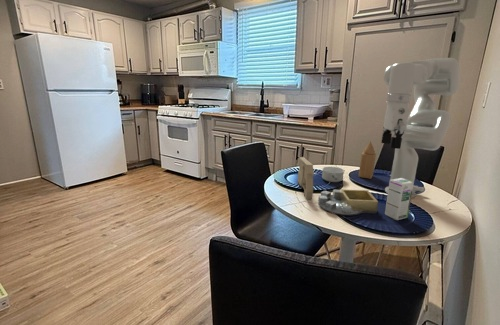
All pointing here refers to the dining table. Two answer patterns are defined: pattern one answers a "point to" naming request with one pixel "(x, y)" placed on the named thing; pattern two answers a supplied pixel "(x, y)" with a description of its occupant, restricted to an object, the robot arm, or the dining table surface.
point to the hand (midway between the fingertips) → (390, 145)
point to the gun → (306, 177)
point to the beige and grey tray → (348, 202)
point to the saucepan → (332, 174)
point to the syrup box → (399, 198)
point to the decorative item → (367, 162)
